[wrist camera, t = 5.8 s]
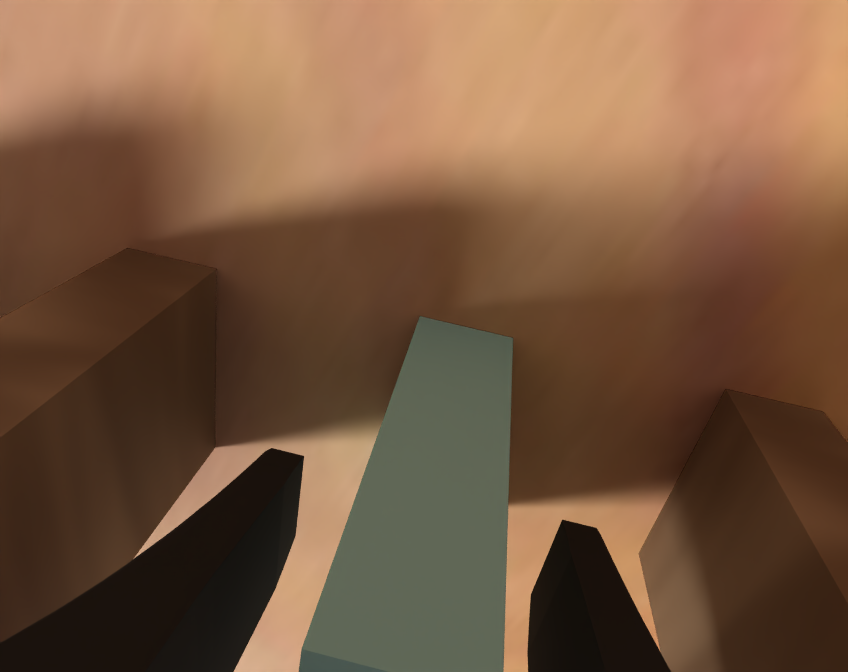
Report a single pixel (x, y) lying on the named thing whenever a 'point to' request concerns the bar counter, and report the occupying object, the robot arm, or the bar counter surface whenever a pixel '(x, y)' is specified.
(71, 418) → the domino
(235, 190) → the bar counter surface
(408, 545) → the domino
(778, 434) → the domino
